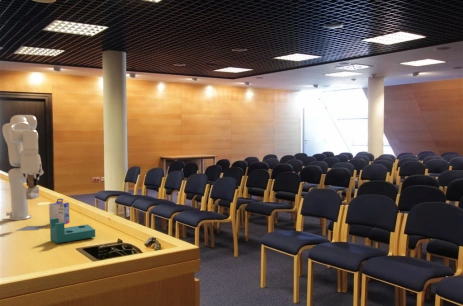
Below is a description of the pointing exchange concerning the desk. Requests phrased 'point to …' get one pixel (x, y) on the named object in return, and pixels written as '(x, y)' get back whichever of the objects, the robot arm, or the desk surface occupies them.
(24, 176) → the robot arm
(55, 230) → the teal l-shaped bracket
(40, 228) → the tool mat
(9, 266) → the desk surface
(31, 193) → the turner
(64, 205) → the ink cartridge box
